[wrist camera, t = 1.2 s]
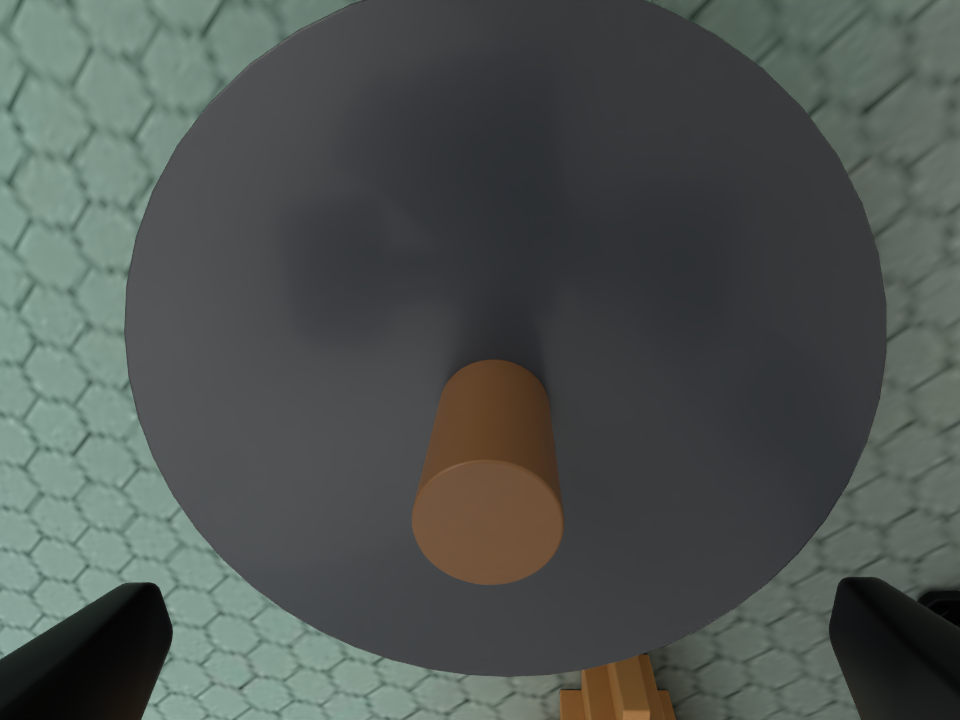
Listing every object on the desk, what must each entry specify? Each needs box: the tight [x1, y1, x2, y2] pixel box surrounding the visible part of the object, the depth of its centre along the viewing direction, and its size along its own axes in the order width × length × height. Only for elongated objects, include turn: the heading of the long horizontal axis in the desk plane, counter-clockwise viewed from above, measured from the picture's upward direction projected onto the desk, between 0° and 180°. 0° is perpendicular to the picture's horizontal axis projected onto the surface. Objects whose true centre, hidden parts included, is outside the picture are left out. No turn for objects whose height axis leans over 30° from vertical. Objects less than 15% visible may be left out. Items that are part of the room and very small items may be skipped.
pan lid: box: [124, 0, 886, 677], centre depth 12 cm, size 16×16×5 cm
